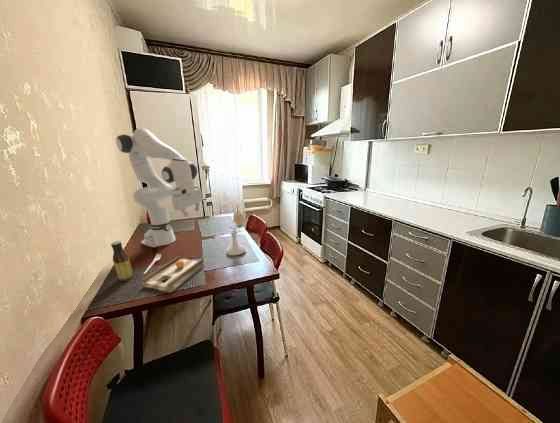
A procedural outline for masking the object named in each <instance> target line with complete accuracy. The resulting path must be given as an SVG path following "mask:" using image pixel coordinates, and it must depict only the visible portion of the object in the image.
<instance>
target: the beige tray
mask: <svg viewBox="0 0 560 423" xmlns="http://www.w3.org/2000/svg"><path fill="white" fill-rule="evenodd" d="M178 260H182V261H183V262H184V266H183V267H181V268H178V267H176V262H177V261H178ZM204 266H205V265H204V260H203V259H202V258H201V259H200V260H193V259H187V258H181V256H180V255H178V256H176V257H174V258H173V259H171V260H170V261H168V262H167V263H166V264H164V265H162V266H160V267H159V268H157V269H156V270H154V271H153V272H151V273H150V274H148V275H146V276H145V277H143V278H142V279H141V282H142V287H143V288H147V287H148V288H147V289H151V288H153V290H156V289H158V291H161V292H167V293H172V292H173V291H174V290H176V289H177V288H178V287H179V286H180V285H182V284H183V283H184V282H186V281H187V280H188V279H189V278H191V277H192V276H193V275H194V274H196V273H197V272H199V271H200V269H202V268H203V267H204ZM163 280H164V281H165V282H163Z"/></svg>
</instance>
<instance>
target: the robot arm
mask: <svg viewBox="0 0 560 423" xmlns="http://www.w3.org/2000/svg"><path fill="white" fill-rule="evenodd" d="M115 141H116V147H117V149H118V150H119V151H120V152H121V153H125V154H128V158H129V162H130V165H131V167H132V170H133V171H134V174H135V176H136V180H138V181H139V182H142V183H144V184H147V185H148V186H145V187H141V188H139V189H136V190H135V191H134V193H133V200H134V202H135V203H136V204H137V205H139V206H141V207H143V208H144V209H145V211H146V212H147V213H148V216H149V218H150V219H149V220H150V223H149V224H148V227H150V228H149V229H148V230H147V232H145V233H144V235H143V236H144V239H143V240H141V242H140V243H141V245H145V246H148V247H151V248H156V247H162V246H166V245H169V244H172V243H174V242H175V241H176V235H175V234H174V230H173V227H172V222H171V220H170V216H169V211H168V209H167V208H165V207H162V206H161V205H160V202H164V201H167V200H169V199H171V202H172V203H171V204H172V207H173V209H174V210H175V211H180V212H181V213H182V214H183V217H188V216H189V212H188V211H187V210H186V209H188V208H189V207H192V206H194V205H195V207H194V210H195V212H199V211H200V202H203V201H204V196H203V192H202V190H201V189H200V186H198V185H195V183H194V180H195V178H196V177H197V175H198V169H197V167H196V165H195V164H194V163H193V162H191V161H189V160H188V159H187V158H185V157H184V156H183V155H181V154H180V153H179V152H178V151H177V150H175V149H174V148H173V147H171V146H169V145H167V144H166V143H164V142H162V141H161V140H159V139H158V137H157V136H156V135H155V134H153V132H151V131H149V130H148V128H147V129H146V128H143V127H139V128H137V129H135V130H134V132H133V133H127V134H125V133H124V134H120V135H118V136H117V137H116V140H115ZM150 158H151V159H162V160H163V159H165V160H169V161H170V163H169V164H167V165H165V166H164V167H163V168H162V170H161V175H162V178H163V180H162V179H161V178H160V177H159V175H158V174H157V173H156V171H155V168H154V166H153V164H152V161H151V159H150ZM171 184H175V187H173V186H172V185H171Z"/></svg>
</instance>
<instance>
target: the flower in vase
mask: <svg viewBox="0 0 560 423" xmlns="http://www.w3.org/2000/svg"><path fill="white" fill-rule="evenodd" d="M232 219H233V222H234V223H235V224H236V225H235V227H231V226H229V228H230V229H232V230H230V231H229V233H230V235H231V238H232V243H231V244H230V245H229V246H228V247H227V248H226V251H225V253H226V254H227V255H229V256H240V255H242V254H243V253H245V251H246V247H245V246H243V245H242V244H240V243H238V241H237V240H238V239H237V236H238V232H239V230H237V229H236V228H238V229H241V228H243V227H244V224H245V222H246V217H245V215H244V214H243V213H242V212H239V211H238V212H235V213H234V214H233V216H232Z"/></svg>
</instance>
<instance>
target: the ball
mask: <svg viewBox="0 0 560 423" xmlns="http://www.w3.org/2000/svg"><path fill="white" fill-rule="evenodd" d="M183 266H184V262H183V261H182V260H178V261H177V262H176V267H178V268H181V267H183Z"/></svg>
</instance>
